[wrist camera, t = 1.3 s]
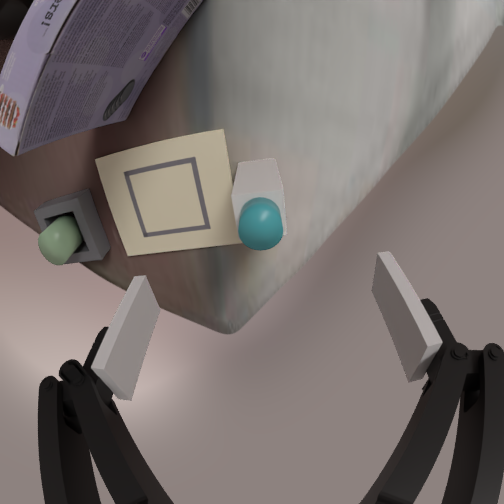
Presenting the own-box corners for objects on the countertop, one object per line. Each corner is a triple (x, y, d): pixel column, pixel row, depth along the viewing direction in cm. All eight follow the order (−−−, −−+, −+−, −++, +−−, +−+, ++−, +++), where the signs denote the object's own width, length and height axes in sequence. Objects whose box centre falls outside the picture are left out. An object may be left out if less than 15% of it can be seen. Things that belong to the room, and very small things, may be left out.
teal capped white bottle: (238, 162, 30) (228, 209, 19) (275, 158, 29) (286, 202, 19) (243, 195, 32) (237, 257, 21) (278, 191, 31) (290, 252, 21)
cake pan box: (184, -33, 16) (121, -111, 2) (222, -18, 18) (187, -108, 3) (95, 104, 25) (-20, 142, 10) (128, 121, 27) (19, 171, 12)
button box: (45, 201, 32) (33, 211, 29) (89, 188, 31) (77, 197, 28) (67, 253, 37) (57, 264, 34) (110, 247, 36) (102, 259, 33)
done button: (51, 217, 31) (32, 234, 27) (75, 211, 31) (57, 228, 27) (64, 248, 34) (48, 266, 30) (88, 244, 33) (73, 263, 29)
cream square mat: (96, 158, 29) (94, 159, 29) (223, 128, 28) (223, 129, 27) (129, 254, 36) (127, 256, 36) (242, 241, 35) (242, 243, 35)
